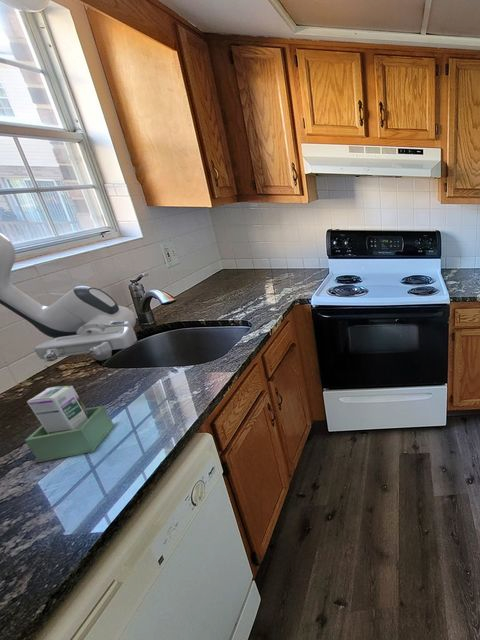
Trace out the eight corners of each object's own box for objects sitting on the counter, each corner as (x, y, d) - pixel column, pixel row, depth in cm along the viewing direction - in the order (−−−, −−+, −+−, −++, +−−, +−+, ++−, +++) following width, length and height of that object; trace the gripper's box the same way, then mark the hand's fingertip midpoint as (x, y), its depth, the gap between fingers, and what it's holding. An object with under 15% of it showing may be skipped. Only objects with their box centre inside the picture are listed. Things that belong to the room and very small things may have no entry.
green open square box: (93, 451, 89) (81, 429, 86) (38, 462, 86) (24, 440, 83) (114, 425, 98) (103, 405, 95) (65, 434, 95) (53, 414, 92)
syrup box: (83, 446, 90) (54, 397, 84) (56, 449, 89) (25, 400, 83) (99, 431, 95) (73, 384, 89) (74, 434, 94) (46, 387, 88)
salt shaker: (91, 362, 133) (74, 330, 127) (97, 356, 137) (81, 324, 132) (111, 359, 135) (95, 327, 129) (116, 353, 139) (102, 321, 134)
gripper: (49, 331, 102) (13, 351, 90) (135, 320, 108) (112, 338, 96) (59, 351, 105) (26, 373, 93) (143, 339, 111) (122, 359, 99)
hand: (71, 355), depth 94 cm, fingers open, 8 cm apart
